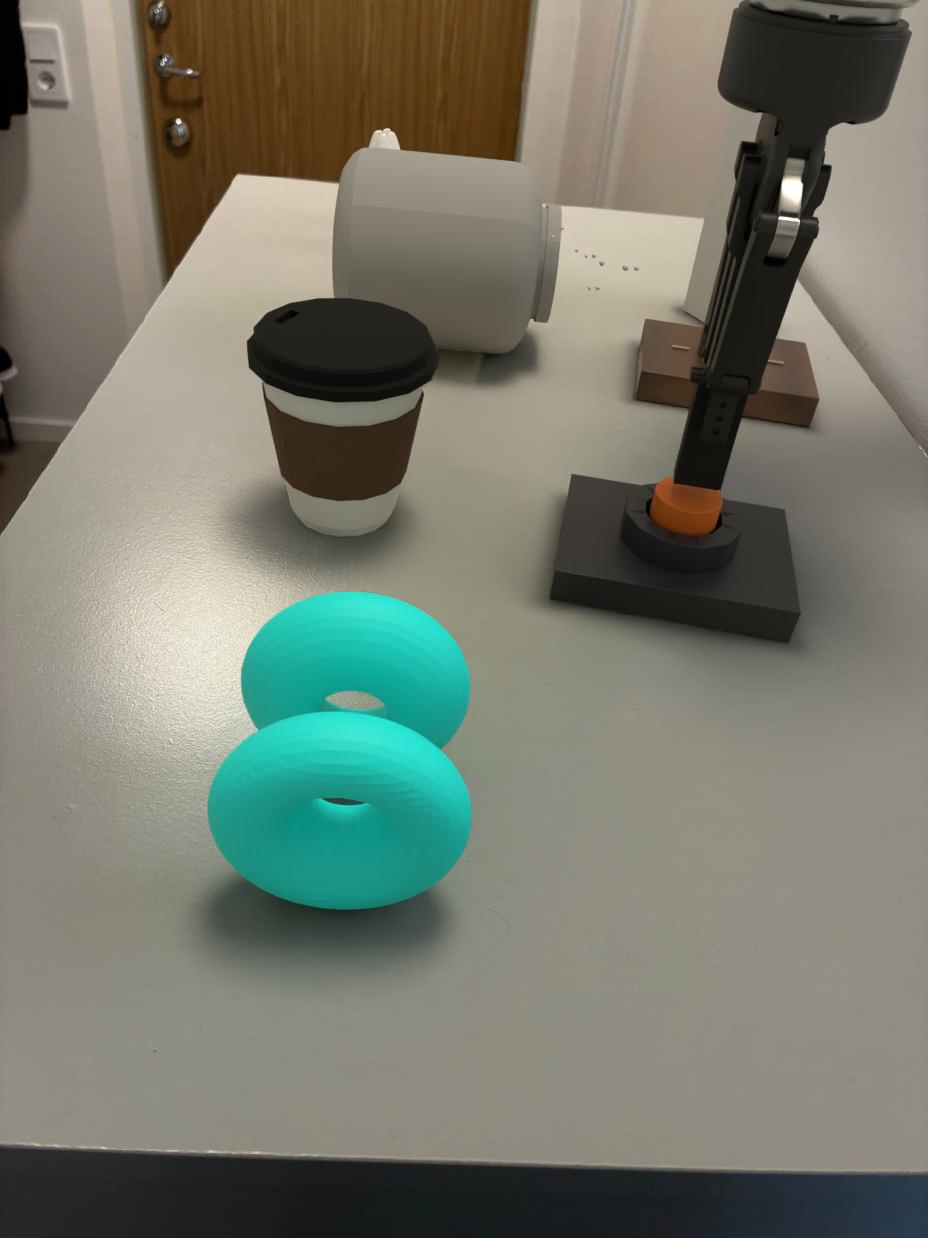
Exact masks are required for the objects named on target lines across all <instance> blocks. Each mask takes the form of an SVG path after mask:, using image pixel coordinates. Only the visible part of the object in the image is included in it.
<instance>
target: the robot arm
mask: <svg viewBox="0 0 928 1238" xmlns="http://www.w3.org/2000/svg"><path fill="white" fill-rule="evenodd" d="M921 1H922V0H742V1H740V2H739V3H738V7H734V8H733V9H732V10H733V11H732V14H731V18H730V22H729V23H730V24H729V27H728V33H727V37H726V41H725V46H724V51H723V55H722V60H721V63H720V69H719V73H718V78H717V90H718V93H719V95H720V96H721V98H723V99H724V101H726V102H728V104H730V105H732V104H733V105H734V106H737V107H739V108H741V109H744V110H747V111H750V112H753V113H762V116H761V120H760V123H759V126H758V130H757V134H756V139H755V142H749V141H741V143H740V146H739V149H738V153H737V158H736V162H735V166H734V175H735V179H736V184H735V188H734V192H733V196H732V200H731V204H730V208H729V212H728V216H727V220H726V229H727V234H726V239H725V243H724V248H723V253H722V257H721V262H720V266H719V271H718V275H717V280H716V284H715V289H714V293H713V298H712V302H711V307H710V311H709V316H708V320H707V323H706V324H705V325H704V324H703V326H704V329H703V333H704V339H705V340H707V341H706V345H705V347H704V348H703V349H702V353H701V357H702V359H703V360H702V364H706V367H705V368H701V367H694V366H691V371H690V377H689V383H696V384H695V388H694V392H693V396H692V400H691V404H690V408H689V407H688V412H687V416H686V420H685V424H684V428H683V431H682V436H681V440H680V445H679V448H678V452H677V455H676V460H675V465H674V469H673V477H674V484H680V485H686V486H693V487H699V488H705V489H712V490H718V491H719V492H720V491H721V490H722V487H723V485H724V480H725V478H726V477H725V476H726V474H727V470H728V466H729V462H730V459H731V457H732V452H733V450H734V446H735V443H736V439H737V435H738V432H739V430H740V425H741V422H742V418H743V416H742V415H743V412H744V408H745V405H746V401H747V398H748V395H749V394H751V395H756V393H757V392H758V388H759V389H760V387H761V383H762V377H763V374H764V371H765V368H766V365H767V363H768V360H769V357H770V354H771V351H772V348H773V346H774V343H775V340H776V338H777V337H778V335H779V331H780V329H781V326H782V323H783V320H784V317H785V314H786V312H787V308H788V305H789V303H790V300H791V298H792V295H793V292H794V289H795V286H796V284H797V281H798V278H799V276H800V272H801V269H802V268H803V265H804V263H805V261H806V259H807V257H808V254H809V252H810V250H811V248H812V247H813V244H814V241H815V240H817V239H818V236H819V234H820V233H819V232H820V226H819V224H820V220H819V217H817V216H814V215H815V212H816V210H817V209H818V208H819V207H820V206H821V205H822V204H823V202H824V200H825V197H826V194H827V190H828V188H829V183H830V180H831V177H832V171H833V165H832V164H827V163H825V159H826V150H825V148H826V145H827V136H828V134H829V131H830V130H831V129H832V128H834V127H836V126H837V125H840V124H847V125H852V126H854V125H863V124H867V123H868V124H869V123H871V122H874V121H876V120H878V119H880V118H881V117H882V116H883V115H884V114H885V113H886V111H887V110H888V108H889V106H890V102H891V101H892V97H893V93H894V91H895V88H896V84H897V81H898V78H899V76H900V72H901V69H902V66H903V62H904V61H905V60H904V59H905V57H906V53H907V51H908V47H909V45H910V42H911V38H912V35H913V32H912V30H910V29H909V28H910V23H909V22H908V21H907V20H906V19H904V18H902V17H901V16H902V13H903V11H904V9H909V8H912V7H914V6H916V4H918V3H920V2H921Z"/></svg>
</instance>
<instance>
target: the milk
mask: <svg viewBox="0 0 928 1238" xmlns="http://www.w3.org/2000/svg"><path fill="white" fill-rule="evenodd" d="M761 116H762V113H753V112H750V111H747V110H744V109H741V108H739V107H737V106H734V105H733V104H730V108H729V113H728V117H727V122H726V126H725V131H724V134H723V139H722V143H721V147H720V151H719V155H718V159H717V165H716V169H715V172H714V175H713V176H714V177H713V179H712V184H711V190H710V193H709V197H708V202H707V205H706V211H705V213H704V214H705V215H704V219H703V223H702V227H701V231H700V236H699V240H698V243H697V249H696V252H695V256H694V261H693V265H692V269H691V274H690V277H689V281H688V286H687V289H686V290H687V291H686V294H685V299H684V303H683V307H682V311H683V312H685V313H687V314H688V315H690V316H691V317H693V318H695V319H697V320H699V321H700V322H702V323H704V322H705V318H706V314H707V311H708V307H709V303H710V299H711V295H712V291H713V287H714V283H715V279H716V275H717V271H718V268H719V264H720V260H721V256H722V252H723V248H724V243H725V239H726V234H727V229H726V220H727V216H728V212H729V208H730V204H731V200H732V196H733V192H734V188H735V184H736V179H735V175H734V166H735V162H736V158H737V153H738V149H739V146H740V143H741V141H749V142H755V139H756V134H757V130H758V126H759V123H760V120H761Z"/></svg>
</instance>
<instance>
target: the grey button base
mask: <svg viewBox="0 0 928 1238" xmlns="http://www.w3.org/2000/svg"><path fill="white" fill-rule="evenodd" d="M657 484H658V482H655V483H654V482H653V483H646V484H645V483H644V484H635V483H630V482H625V481H618V480H613V479H612V480H611V479H606V478H601V477H594V476H587V475H581V474H576V473H571V474H570V480H569V486H568V490H567V496H566V501H565V507H564V513H563V518H562V524H561V531H560V536H559V541H558V547H557V551H556V557H555V563H554V569H553V576H552V580H551V586H550V592H549V600H550V601H555V602H560V603H566V604H571V605H578V606H584V607H589V608H594V609H600V610H605V611H612V612H617V613H622V614H628V615H634V616H640V617H645V618H651V619H656V620H662V621H668V622H674V623H680V624H685V625H689V626H696V627H701V628H707V629H713V630H717V631H723V632H729V633H735V634H742V635H746V636H752V637H757V638H758V637H759V638H764V639H768V640H774V641H780V642H785V643H790V642H791V639H792V637H793V635H794V632H795V629H796V627H797V625H798V622H799V620H800V618H801V615H802V610H801V604H800V598H799V597H800V596H799V590H798V585H797V578H796V571H795V565H794V557H793V551H792V547H791V545H792V544H791V538H790V532H789V527H788V526H789V525H788V521H787V514H786V509H785V508H781V507H773V506H770V505H769V506H768V505H761V504H756V503H750V502H744V501H738V500H732V499H726V498H725V497H723V496H722V498H723V504H722V507H721V510H720V514H719V517H718V520H717V523H716V527H715V528H714V530H713V531H712V532H710V533H709V534H705V535H698V536H692V535H686V534H681V533H675V532H672V531H670V530H668V529H666V528H664V527H662V526H660V525H658V524H656V523H655V522H654V521H653V520H652V519H651V516H650V507H651V503H652V499H653V495H654V491H655V487H656V485H657Z"/></svg>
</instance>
